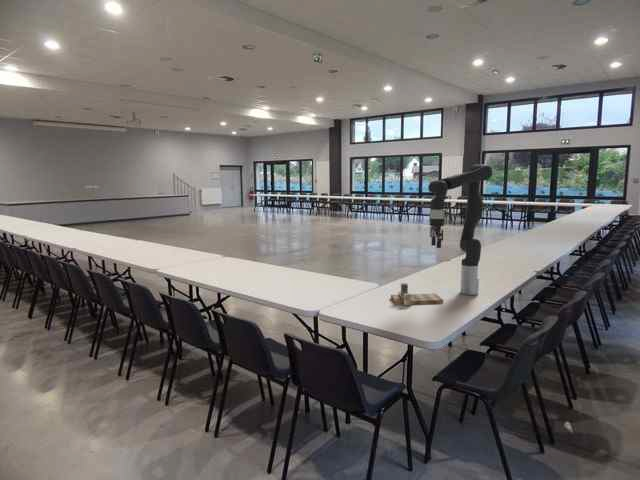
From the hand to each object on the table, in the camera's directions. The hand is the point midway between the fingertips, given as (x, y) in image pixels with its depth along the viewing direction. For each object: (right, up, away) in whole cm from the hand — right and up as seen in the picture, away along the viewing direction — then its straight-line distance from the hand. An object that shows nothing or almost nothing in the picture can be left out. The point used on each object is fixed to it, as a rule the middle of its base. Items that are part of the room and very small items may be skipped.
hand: (436, 246), depth 225 cm
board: (-10, -30, +2) cm, 32 cm away
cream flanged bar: (-17, -30, +2) cm, 35 cm away
